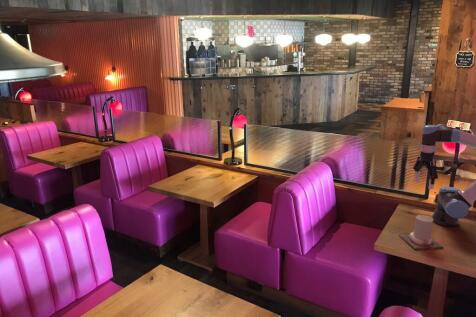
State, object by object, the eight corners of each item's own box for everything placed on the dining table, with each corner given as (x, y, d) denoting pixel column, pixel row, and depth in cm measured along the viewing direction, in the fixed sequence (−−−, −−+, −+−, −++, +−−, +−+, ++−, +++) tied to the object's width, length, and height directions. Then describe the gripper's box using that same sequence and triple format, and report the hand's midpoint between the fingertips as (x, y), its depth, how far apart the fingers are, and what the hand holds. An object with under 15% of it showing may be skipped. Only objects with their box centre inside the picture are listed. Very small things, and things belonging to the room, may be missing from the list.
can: (432, 241, 224) (435, 221, 221) (415, 239, 226) (417, 220, 222) (428, 233, 233) (431, 214, 229) (411, 232, 234) (414, 213, 231)
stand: (425, 234, 239) (426, 229, 238) (442, 248, 223) (443, 242, 222) (399, 235, 237) (399, 230, 236) (414, 250, 221) (415, 244, 220)
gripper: (409, 146, 245) (405, 179, 251) (435, 157, 222) (431, 192, 228) (420, 145, 247) (416, 178, 253) (447, 156, 223) (443, 191, 229)
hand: (423, 185), depth 240 cm, fingers open, 13 cm apart
